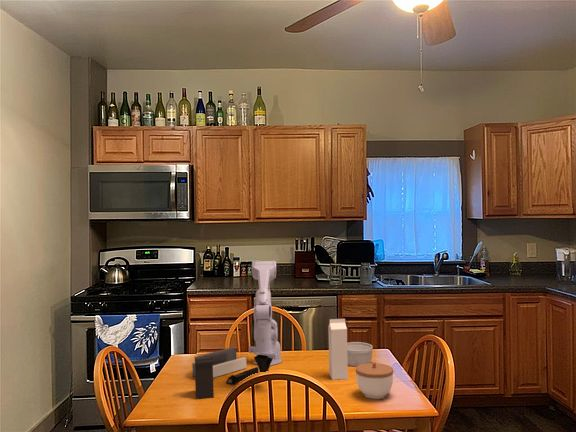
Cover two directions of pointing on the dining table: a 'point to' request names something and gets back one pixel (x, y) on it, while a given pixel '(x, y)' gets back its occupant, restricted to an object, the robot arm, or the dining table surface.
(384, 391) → the lidded bowl
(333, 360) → the milk
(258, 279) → the robot arm
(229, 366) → the pad
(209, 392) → the phone stand
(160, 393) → the dining table surface
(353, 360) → the ramekin
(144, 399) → the dining table surface
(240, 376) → the electric trimmer
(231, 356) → the tester frame
